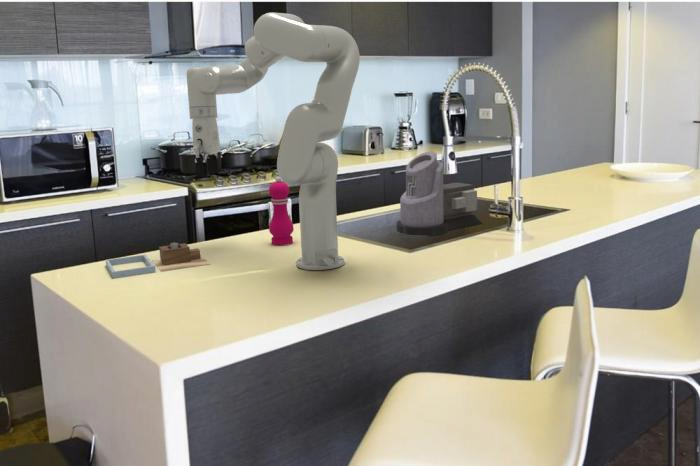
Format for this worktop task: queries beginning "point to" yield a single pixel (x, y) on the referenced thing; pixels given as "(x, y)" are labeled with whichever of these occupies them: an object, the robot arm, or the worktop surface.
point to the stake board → (181, 265)
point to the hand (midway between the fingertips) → (207, 174)
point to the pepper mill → (280, 214)
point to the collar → (178, 254)
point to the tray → (130, 271)
